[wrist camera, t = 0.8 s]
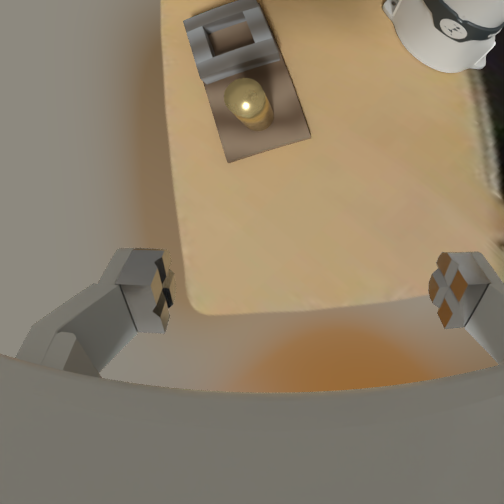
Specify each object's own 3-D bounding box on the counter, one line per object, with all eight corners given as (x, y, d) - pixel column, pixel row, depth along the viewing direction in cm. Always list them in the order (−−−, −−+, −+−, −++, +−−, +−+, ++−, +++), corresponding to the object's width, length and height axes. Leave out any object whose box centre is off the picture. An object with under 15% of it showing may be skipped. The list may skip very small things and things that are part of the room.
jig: (189, 30, 41) (180, 20, 37) (260, 5, 38) (255, -7, 34) (229, 163, 44) (221, 160, 40) (310, 138, 41) (310, 133, 38)
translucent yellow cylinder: (250, 97, 41) (234, 72, 31) (279, 108, 40) (270, 86, 31) (237, 124, 42) (217, 106, 32) (265, 136, 41) (252, 120, 32)
